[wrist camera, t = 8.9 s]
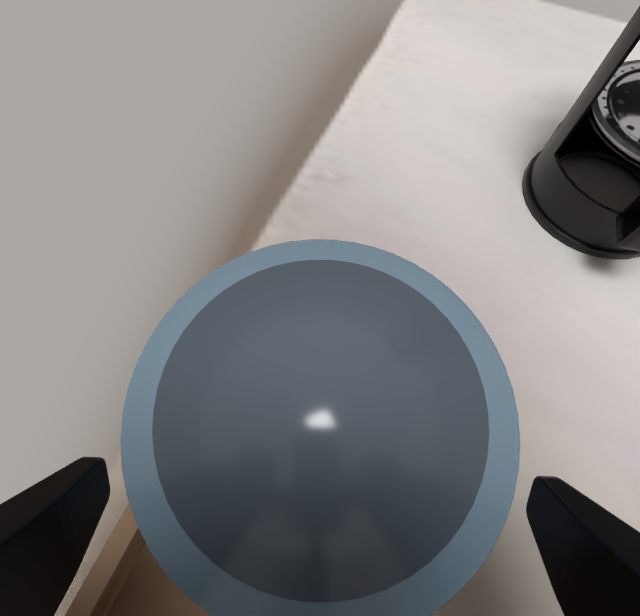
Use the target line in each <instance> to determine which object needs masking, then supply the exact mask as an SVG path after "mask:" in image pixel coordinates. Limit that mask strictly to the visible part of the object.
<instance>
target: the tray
mask: <svg viewBox="0 0 640 616" xmlns="http://www.w3.org/2000/svg"><path fill="white" fill-rule="evenodd" d="M65 616H212V615H210V614H209V613H208V612H206V611H205V610H204V609H202V608H201V607H200V606H198V605H197V604H196V603H195V602H193V601H192V600H191V599H189V598H188V597H187V596H186V595H185V593H184V592H183V591H182V590H181V589H180V588H179V587H178V586H177V585H176V584H175V583H174V582H173V581H172V580H171V579H170V578H169V577H168V576H167V574H166V573H165V571H164V570H163V569H162V567H161V566H160V564H159V563H158V561H157V560H156V559H155V557H154V556H153V554H152V553H151V551H150V550H149V548H148V546H147V544H146V542H145V540H144V538H143V536H142V534H141V532H140V530H139V528H138V526H137V524H136V521H135V518H134V515H133V512H132V509H131V506H130V503H129V505H128V506H127V508H126V510H125V512H124V513H123V515H122V517H121V519H120V520H119V522H118V524H117V526H116V527H115V529H114V531H113V532H112V534H111V536H110V538H109V539H108V541H107V543H106V545H105V546H104V548H103V550H102V552H101V553H100V555H99V557H98V559H97V560H96V562H95V564H94V566H93V567H92V569H91V571H90V573H89V574H88V576H87V578H86V580H85V581H84V583H83V585H82V587H81V588H80V590H79V592H78V594H77V595H76V597H75V599H74V601H73V602H72V604H71V606H70V608H69V609H68V611H67V613H66V614H65Z"/></svg>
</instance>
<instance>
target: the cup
mask: <svg viewBox="0 0 640 616" xmlns="http://www.w3.org/2000/svg"><path fill="white" fill-rule="evenodd" d="M122 418H123V419H122V430H121V457H122V470H123V476H124V481H125V487H126V492H127V497H128V500H129V503H130V506H131V509H132V512H133V515H134V518H135V521H136V524H137V526H138V528H139V530H140V532H141V534H142V536H143V538H144V540H145V542H146V544H147V546H148V548H149V550H150V551H151V553H152V554H153V556H154V557H155V559H156V560H157V561H158V563H159V564H160V566H161V567H162V569H163V570H164V571H165V573H166V574H167V576H168V577H169V578H170V579H171V580H172V581H173V582H174V583H175V584H176V585H177V586H178V587H179V588H180V589H181V590H182V591H183V592H184V593H185V595H186V596H187V597H188V598H189V599H191V600H192V601H193V602H195V603H196V604H197V605H198V606H200V607H201V608H202V609H204V610H205V611H206V612H208V613H209V614H210V615H212V616H430V615H431V614H433V613H434V612H435V611H437V610H438V609H439V608H441V607H442V606H443V605H445V604H446V603H447V602H448V601H450V600H451V599H452V598H453V597H454V596H455V595H456V594H457V593H458V592H459V591H460V590H461V589H462V588H463V587H464V586H465V585H466V584H467V583H468V582H469V581H470V579H471V578H472V577H473V576H474V575H475V574H476V572H477V571H478V569H479V568H480V566H481V565H482V564H483V562H484V561H485V559H486V558H487V556H488V555H489V554H490V552H491V550H492V548H493V546H494V544H495V542H496V540H497V538H498V536H499V534H500V532H501V530H502V528H503V526H504V524H505V521H506V518H507V515H508V512H509V509H510V506H511V503H512V500H513V497H514V492H515V486H516V481H517V476H518V470H519V453H520V434H519V422H518V413H517V408H516V403H515V398H514V393H513V389H512V386H511V383H510V380H509V377H508V374H507V371H506V368H505V366H504V363H503V361H502V359H501V357H500V355H499V353H498V351H497V349H496V347H495V345H494V343H493V341H492V340H491V338H490V336H489V335H488V333H487V332H486V330H485V329H484V327H483V325H482V324H481V322H480V321H479V320H478V319H477V317H476V316H475V315H474V314H473V313H472V311H471V310H470V309H469V308H468V306H467V305H466V304H465V303H464V302H463V301H462V300H461V299H460V298H459V297H458V296H457V295H456V294H455V293H454V292H453V291H452V290H451V289H450V288H448V287H447V286H446V285H444V284H443V283H442V282H441V281H439V280H438V279H437V278H436V277H434V276H433V275H432V274H430V273H428V272H427V271H425V270H424V269H422V268H420V267H419V266H417V265H415V264H414V263H412V262H410V261H408V260H405V259H403V258H401V257H399V256H397V255H395V254H392V253H390V252H387V251H384V250H381V249H378V248H375V247H372V246H367V245H363V244H359V243H354V242H347V241H338V240H302V241H292V242H286V243H281V244H277V245H272V246H268V247H265V248H262V249H259V250H256V251H253V252H250V253H247V254H245V255H243V256H241V257H238V258H236V259H234V260H232V261H230V262H228V263H226V264H225V265H223V266H221V267H219V268H218V269H216V270H215V271H213V272H211V273H210V274H208V275H207V276H206V277H204V278H203V279H202V280H201V281H199V282H198V283H196V284H195V285H194V286H193V287H191V288H190V289H189V290H188V292H186V293H185V294H184V295H183V296H182V297H181V298H180V299H179V300H178V301H177V302H176V303H175V304H174V305H173V306H172V308H171V309H170V310H169V312H167V314H166V315H165V316H164V317H163V319H162V320H161V321H160V323H159V324H158V326H157V327H156V329H155V330H154V332H153V333H152V335H151V336H150V338H149V340H148V341H147V343H146V345H145V347H144V350H143V351H142V353H141V355H140V357H139V359H138V362H137V364H136V367H135V370H134V373H133V376H132V378H131V381H130V384H129V387H128V391H127V396H126V401H125V405H124V410H123V417H122Z"/></svg>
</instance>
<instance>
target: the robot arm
mask: <svg viewBox="0 0 640 616" xmlns="http://www.w3.org/2000/svg"><path fill="white" fill-rule="evenodd" d="M109 495H110V484H109V478H108V473H107V467H106V463H105V460H104V459H103V458H100V457H82V458H80V459H78V460H76V461H74V462H73V463H71V464H69V465H68V466H66V467H64V468H62V469H61V470H59V471H57V472H55V473H54V474H52V475H50V476H48V477H47V478H45V479H43V480H42V481H40V482H38V483H36V484H35V485H33V486H31V487H29V488H28V489H26V490H24V491H23V492H21V493H19V494H17V495H16V496H14V497H12V498H11V499H9V500H7V501H5V502H4V503H2V504H0V616H54V614H55V612H56V611H57V609H58V607H59V605H60V603H61V601H62V600H63V598H64V596H65V594H66V592H67V590H68V589H69V587H70V585H71V583H72V581H73V579H74V577H75V575H76V573H77V571H78V568H79V566H80V564H81V562H82V560H83V557H84V555H85V553H86V550H87V548H88V546H89V543H90V541H91V539H92V537H93V534H94V532H95V530H96V527H97V525H98V523H99V520H100V518H101V516H102V513H103V511H104V509H105V507H106V504H107V502H108V499H109ZM526 512H527V518H528V521H529V524H530V526H531V529H532V532H533V535H534V538H535V540H536V543H537V546H538V549H539V552H540V554H541V557H542V560H543V563H544V565H545V568H546V571H547V574H548V577H549V579H550V582H551V585H552V587H553V590H554V593H555V595H556V598H557V600H558V602H559V604H560V607H561V609H562V611H563V613H564V616H640V532H639V531H637V530H636V529H634V528H633V527H631V526H630V525H628V524H627V523H625V522H624V521H622V520H621V519H619V518H618V517H616V516H615V515H613V514H612V513H610V512H609V511H607V510H606V509H604V508H603V507H601V506H600V505H598V504H597V503H595V502H594V501H592V500H591V499H589V498H588V497H587V496H585V495H584V494H582V493H581V492H579V491H578V490H576V489H575V488H573V487H572V486H570V485H569V484H567V483H566V482H564V481H563V480H561V479H560V478H558V477H554V476H537V477H536V478H535V479H534V481H533V484H532V487H531V491H530V495H529V498H528V502H527V507H526Z"/></svg>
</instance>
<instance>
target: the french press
mask: <svg viewBox="0 0 640 616" xmlns="http://www.w3.org/2000/svg"><path fill="white" fill-rule="evenodd" d="M639 40H640V7H639V8H638V10H637V11H636V13H635V14H634V15H633V17H632V18H631V20H630V21H629V23H628V24H627V26H626V27H625V29H624V30H623V32H622V33H621V35H620V36H619V38H618V39H617V41H616V42H615V44H614V45H613V47H612V48H611V50H610V51H609V53H608V54H607V56H606V57H605V59H604V60H603V62H602V63H601V65H600V66H599V68H598V69H597V71H596V72H595V74H594V75H593V77H592V78H591V80H590V81H589V83H588V84H587V86H586V87H585V89H584V90H583V92H582V93H581V95H580V96H579V98H578V99H577V101H576V102H575V104H574V105H573V107H572V108H571V110H570V111H569V113H568V114H567V116H566V117H565V119H564V120H563V121H562V122H561V123H560V124H559V126H558V127H557V129H556V130H555V132H554V133H553V135H552V136H551V138H550V139H549V141H548V142H547V144H546V145H545V147H544V148H543V150H542V151H540V152H539V153H538V154H537V155H536V156H535V157H534V158H533V159H532V160H531V162H530V163H529V165H528V167H527V169H526V171H525V174H524V179H523V193H524V197H525V200H526V203H527V205H528V207H529V209H530V211H531V213H532V214H533V216H534V217H535V218H536V220H537V221H538V222H539V223H540V224H541V226H542V227H543V228H545V229H546V230H547V231H548V232H549V233H550V234H551V235H552V236H554V237H555V238H557V239H558V240H560V241H561V242H563V243H564V244H566V245H568V246H570V247H572V248H574V249H576V250H579V251H581V252H584V253H587V254H590V255H593V256H597V257H603V258H610V259H629V258H634V257H639V256H640V195H639V196H638V197H637V198H636V199H635V200H634V201H633V202H631V203H630V204H629V205H628V206H627V207H626V208H625V209H624V210H623V211H622V212H621V213H620V212H618V211H615V210H613V209H611V208H608V207H606V206H604V205H602V204H601V203H599V202H597V201H596V200H594V199H592V198H591V197H589V196H588V195H587V194H586V193H584V192H583V191H582V190H581V189H579V188H578V187H577V186H576V185H575V183H574V182H573V181H572V180H571V179H570V178H569V177H568V175H567V174H566V172H565V171H564V169H563V168H562V166H561V164H560V161H559V160H562V159H564V158H567V157H571V156H581V155H587V156H595V157H600V158H603V159H607V160H610V161H612V162H614V163H617V164H619V165H621V166H622V167H624V168H626V169H627V170H629V171H630V172H631V173H633V174H634V175H635V176H636V177H637V178H638V179H639V180H640V60H635V61H628V62H624V61H625V59H626V58H627V56H628V55H629V54H630V52H631V51H632V49H633V48H634V47H635V45H636V44H637V42H638V41H639Z"/></svg>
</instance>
